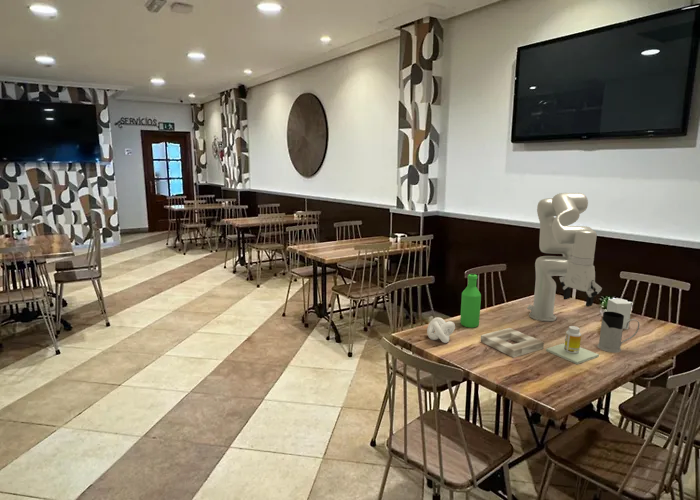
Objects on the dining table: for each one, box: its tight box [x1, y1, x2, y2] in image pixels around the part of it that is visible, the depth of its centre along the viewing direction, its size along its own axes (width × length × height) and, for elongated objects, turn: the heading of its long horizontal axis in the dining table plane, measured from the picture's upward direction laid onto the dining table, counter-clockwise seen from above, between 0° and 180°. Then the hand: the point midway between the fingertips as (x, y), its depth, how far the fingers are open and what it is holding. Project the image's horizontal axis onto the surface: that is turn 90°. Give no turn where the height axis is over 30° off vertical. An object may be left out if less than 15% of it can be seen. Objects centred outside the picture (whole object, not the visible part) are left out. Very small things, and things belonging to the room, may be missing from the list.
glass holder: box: [596, 311, 640, 354], centre depth 183 cm, size 9×14×15 cm, turn 73°
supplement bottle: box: [564, 325, 582, 353], centre depth 179 cm, size 6×6×10 cm
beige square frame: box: [480, 327, 545, 358], centre depth 188 cm, size 18×18×3 cm
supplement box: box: [606, 298, 632, 330], centre depth 209 cm, size 7×7×13 cm
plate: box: [545, 342, 600, 365], centre depth 180 cm, size 14×14×1 cm
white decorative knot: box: [426, 316, 456, 344], centre depth 193 cm, size 11×12×9 cm
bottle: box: [459, 273, 482, 329], centre depth 208 cm, size 9×9×25 cm
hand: (577, 302), depth 176 cm, fingers open, 9 cm apart
